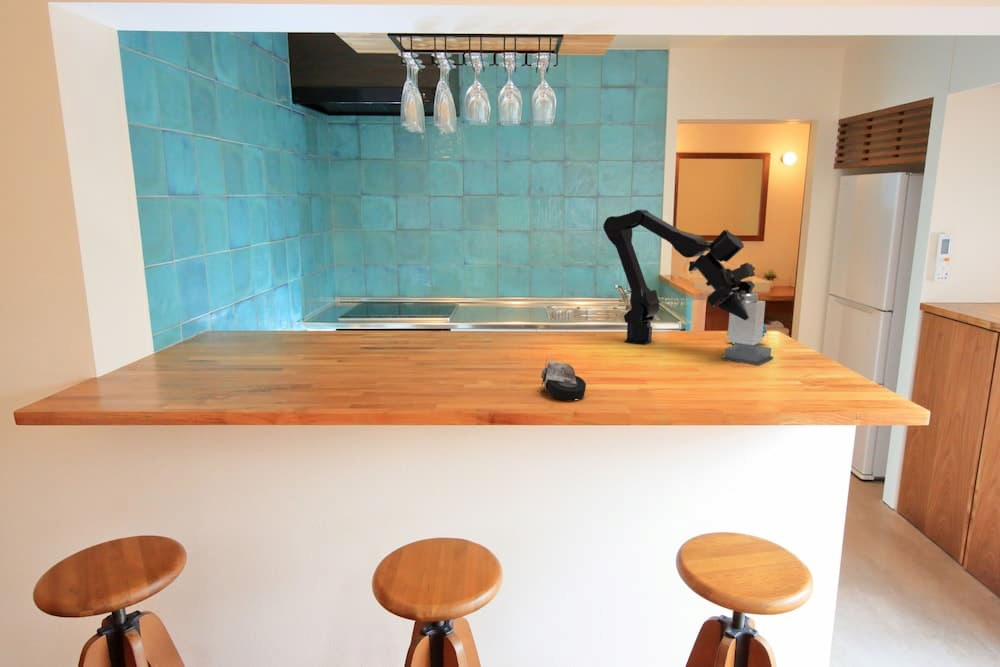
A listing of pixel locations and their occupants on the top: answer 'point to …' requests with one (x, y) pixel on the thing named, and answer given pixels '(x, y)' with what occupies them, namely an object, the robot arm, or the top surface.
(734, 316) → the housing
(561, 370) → the caster wheel
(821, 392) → the top surface
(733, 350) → the stand
